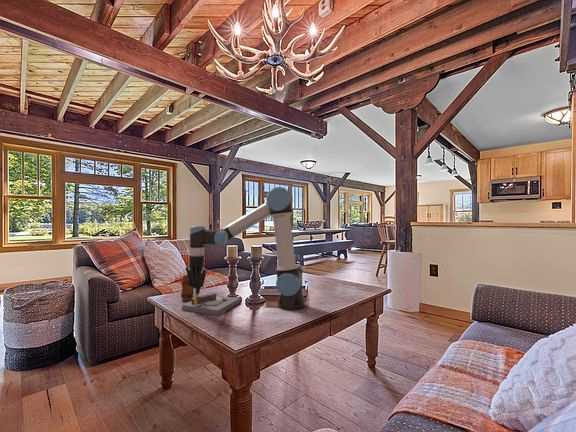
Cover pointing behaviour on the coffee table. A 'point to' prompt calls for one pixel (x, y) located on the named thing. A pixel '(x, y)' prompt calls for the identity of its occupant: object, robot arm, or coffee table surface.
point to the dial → (208, 300)
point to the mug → (186, 289)
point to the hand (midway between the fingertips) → (195, 299)
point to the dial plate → (227, 304)
